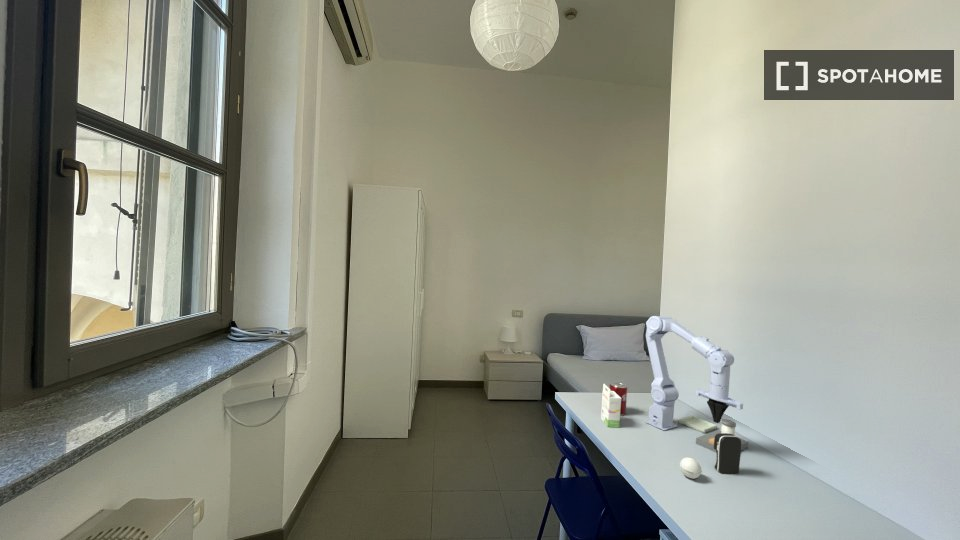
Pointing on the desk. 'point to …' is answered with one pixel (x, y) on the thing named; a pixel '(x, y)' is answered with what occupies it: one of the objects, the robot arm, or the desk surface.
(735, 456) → the battery charger
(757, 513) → the desk surface
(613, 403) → the ink box
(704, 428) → the tray
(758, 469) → the desk surface
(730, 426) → the grey cylinder
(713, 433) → the housing
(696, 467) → the white egg
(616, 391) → the soda can
